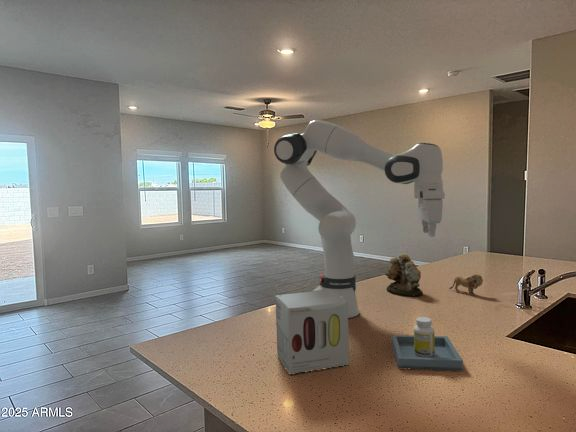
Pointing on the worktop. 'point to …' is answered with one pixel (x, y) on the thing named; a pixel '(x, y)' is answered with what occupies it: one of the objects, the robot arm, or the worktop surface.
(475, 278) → the lion figurine
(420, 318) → the supplement bottle
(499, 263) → the worktop surface
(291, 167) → the robot arm
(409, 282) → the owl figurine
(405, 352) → the tray
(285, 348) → the supplement box
